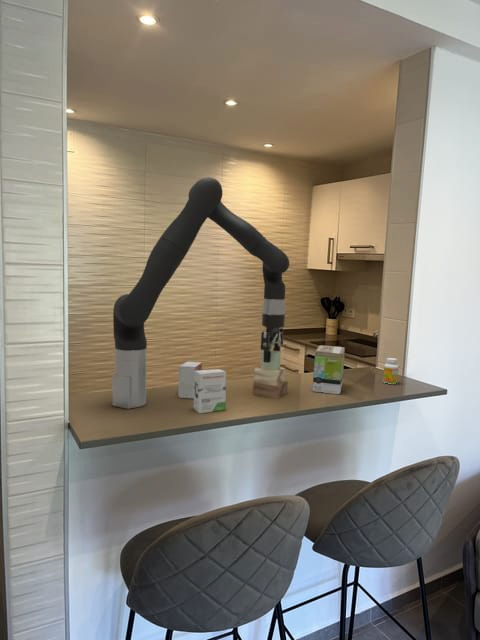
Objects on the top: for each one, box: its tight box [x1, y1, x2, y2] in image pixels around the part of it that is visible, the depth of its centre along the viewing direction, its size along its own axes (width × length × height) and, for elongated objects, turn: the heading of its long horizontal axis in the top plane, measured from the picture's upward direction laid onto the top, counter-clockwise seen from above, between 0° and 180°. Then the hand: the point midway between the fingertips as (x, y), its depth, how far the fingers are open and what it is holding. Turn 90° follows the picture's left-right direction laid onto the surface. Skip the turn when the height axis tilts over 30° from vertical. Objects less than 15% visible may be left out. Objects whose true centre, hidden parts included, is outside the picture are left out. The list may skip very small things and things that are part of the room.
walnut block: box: [252, 380, 289, 400], centre depth 154 cm, size 9×9×4 cm
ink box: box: [193, 368, 227, 414], centre depth 134 cm, size 9×5×12 cm, turn 116°
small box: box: [178, 361, 203, 400], centre depth 149 cm, size 8×6×10 cm
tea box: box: [311, 344, 346, 395], centre depth 164 cm, size 15×10×15 cm
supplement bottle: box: [382, 357, 399, 385], centre depth 175 cm, size 5×5×10 cm
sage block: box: [260, 349, 282, 371], centre depth 153 cm, size 5×5×6 cm
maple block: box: [253, 366, 286, 386], centre depth 154 cm, size 8×8×4 cm
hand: (271, 360), depth 153 cm, fingers open, 8 cm apart
